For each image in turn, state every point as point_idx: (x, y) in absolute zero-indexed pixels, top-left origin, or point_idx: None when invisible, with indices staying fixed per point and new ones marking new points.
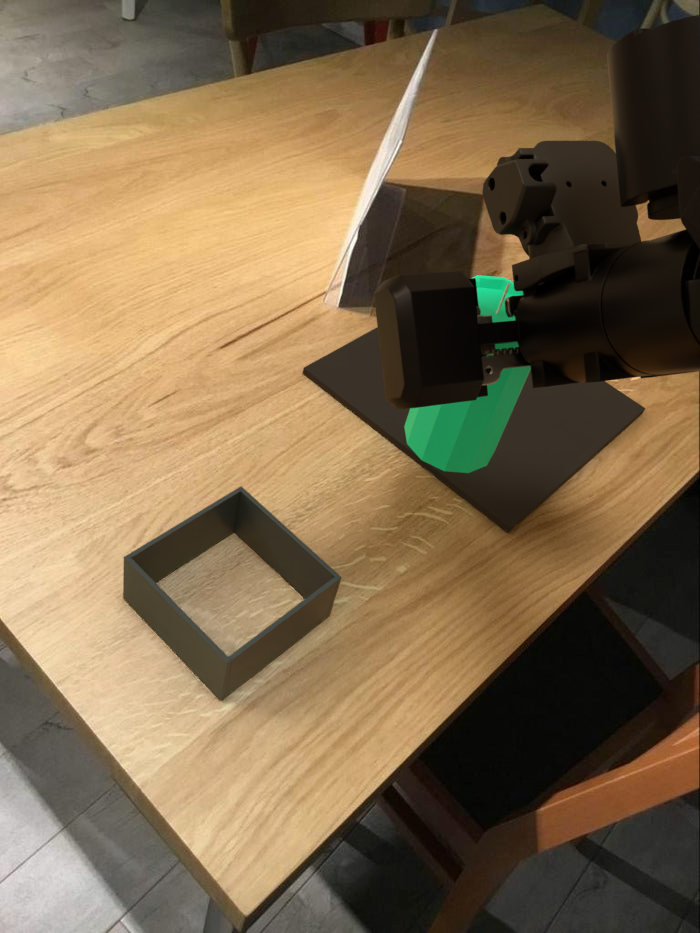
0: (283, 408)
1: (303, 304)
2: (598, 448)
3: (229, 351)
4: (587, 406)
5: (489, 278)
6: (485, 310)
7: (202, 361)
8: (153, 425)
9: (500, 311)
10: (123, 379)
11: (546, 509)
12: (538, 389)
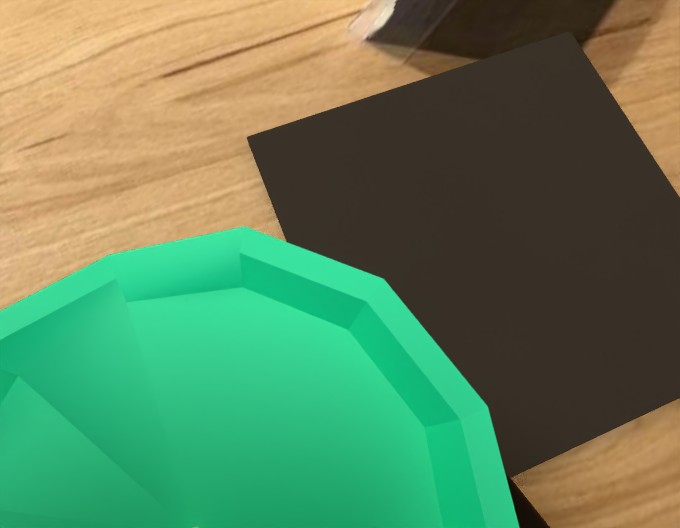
0: (189, 196)
1: (317, 25)
2: (644, 411)
3: (171, 84)
4: (670, 319)
5: (290, 269)
6: (135, 494)
7: (127, 93)
8: (5, 182)
9: (222, 526)
10: (12, 100)
11: None
12: (598, 263)
